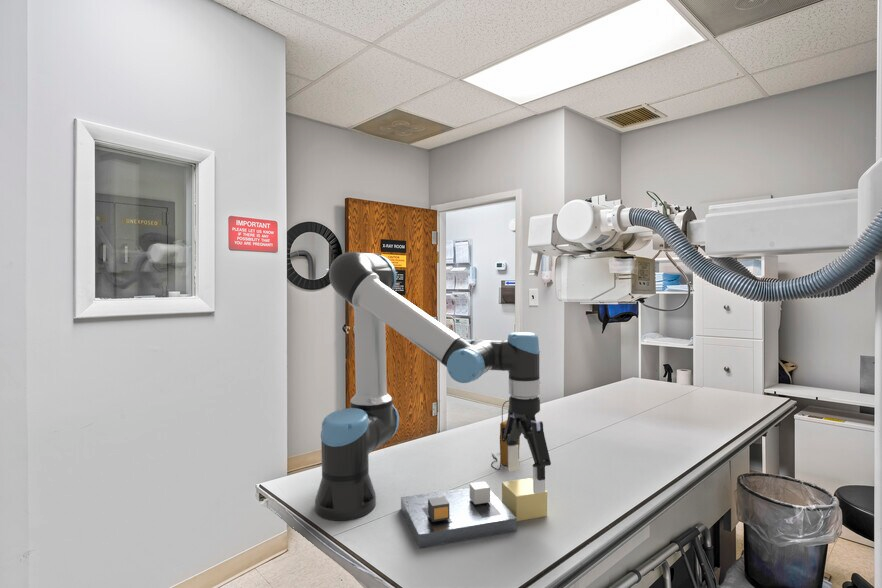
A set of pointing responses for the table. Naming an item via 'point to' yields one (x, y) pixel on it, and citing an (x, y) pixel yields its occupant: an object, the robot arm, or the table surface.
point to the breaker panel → (456, 518)
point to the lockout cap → (524, 499)
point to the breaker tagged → (438, 509)
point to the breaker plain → (479, 492)
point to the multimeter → (503, 444)
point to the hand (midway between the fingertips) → (525, 480)
